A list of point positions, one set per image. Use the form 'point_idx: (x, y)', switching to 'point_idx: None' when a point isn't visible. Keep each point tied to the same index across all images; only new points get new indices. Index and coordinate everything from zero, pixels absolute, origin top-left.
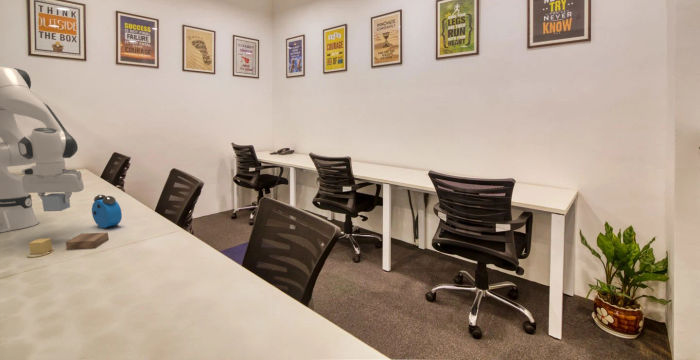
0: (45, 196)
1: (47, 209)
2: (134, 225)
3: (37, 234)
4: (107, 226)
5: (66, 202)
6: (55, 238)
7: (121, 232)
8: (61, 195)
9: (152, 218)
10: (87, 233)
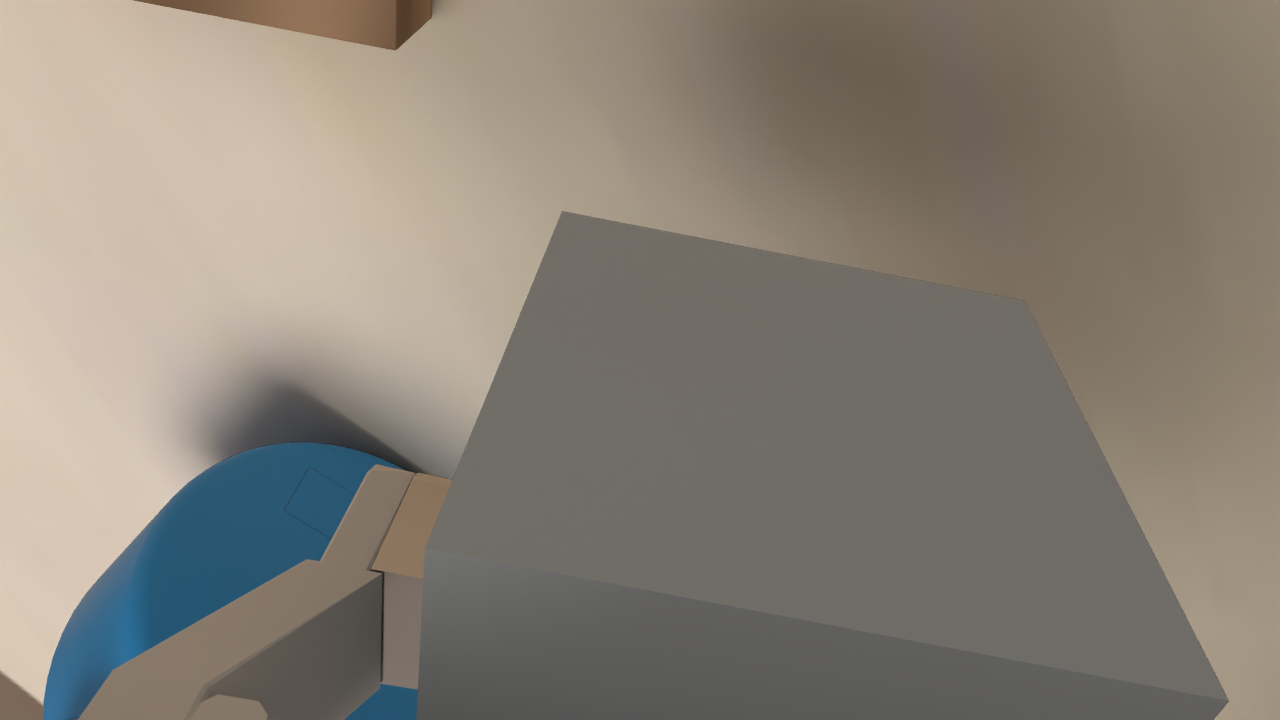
0: (1056, 704)
1: (928, 313)
2: (87, 473)
3: (1138, 494)
4: (316, 444)
5: (391, 471)
6: (867, 255)
7: (68, 239)
8: (421, 699)
9: (43, 646)
10: (291, 20)
